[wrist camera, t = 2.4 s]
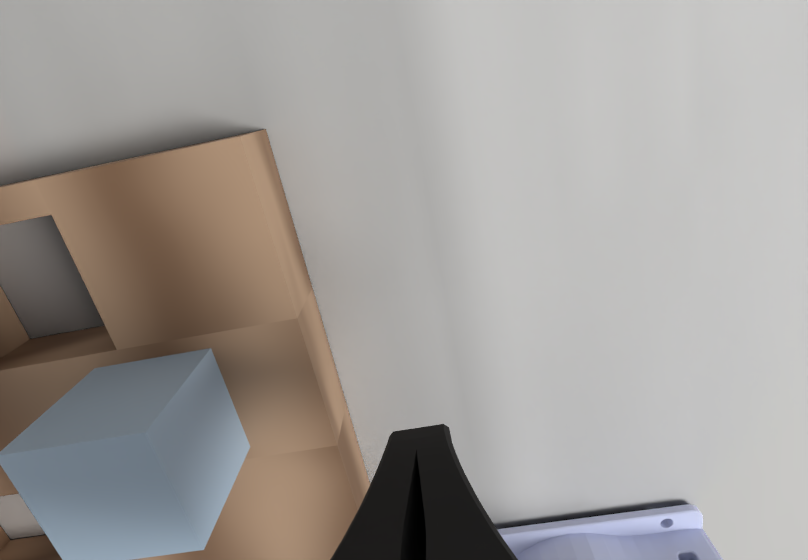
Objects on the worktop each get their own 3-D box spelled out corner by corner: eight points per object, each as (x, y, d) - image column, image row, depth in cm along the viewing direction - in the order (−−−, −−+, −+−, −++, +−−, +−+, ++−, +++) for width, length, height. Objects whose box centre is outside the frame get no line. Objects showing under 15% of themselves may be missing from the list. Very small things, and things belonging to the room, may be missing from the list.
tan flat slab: (265, 129, 15) (210, 144, 11) (376, 506, 21) (367, 608, 17) (-329, 256, 17) (-566, 309, 13) (-75, 568, 23) (-182, 674, 19)
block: (211, 347, 15) (146, 432, 11) (250, 446, 17) (203, 549, 13) (94, 368, 16) (-6, 456, 12) (143, 463, 17) (68, 568, 13)
